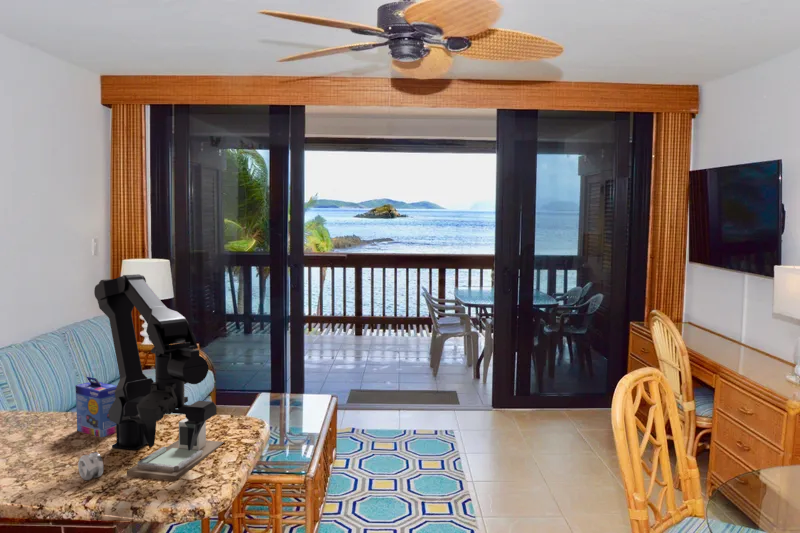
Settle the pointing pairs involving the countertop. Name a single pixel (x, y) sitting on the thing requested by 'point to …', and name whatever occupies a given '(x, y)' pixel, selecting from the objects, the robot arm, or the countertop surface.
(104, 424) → the ink cartridge box
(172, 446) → the rail board
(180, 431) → the block
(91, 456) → the metal grooved wheel
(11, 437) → the countertop surface
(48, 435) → the countertop surface
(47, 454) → the countertop surface
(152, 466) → the rail guides
